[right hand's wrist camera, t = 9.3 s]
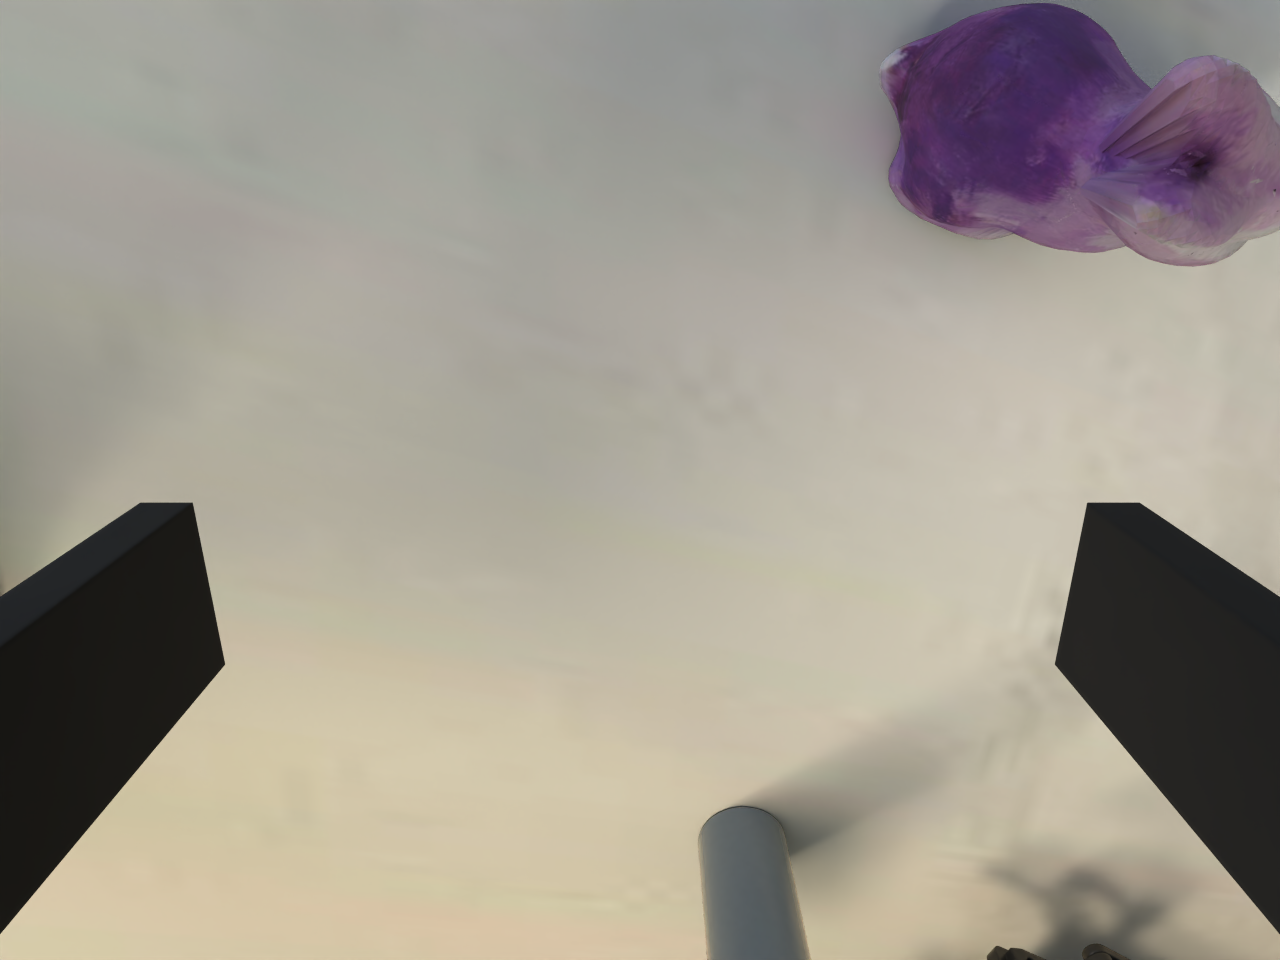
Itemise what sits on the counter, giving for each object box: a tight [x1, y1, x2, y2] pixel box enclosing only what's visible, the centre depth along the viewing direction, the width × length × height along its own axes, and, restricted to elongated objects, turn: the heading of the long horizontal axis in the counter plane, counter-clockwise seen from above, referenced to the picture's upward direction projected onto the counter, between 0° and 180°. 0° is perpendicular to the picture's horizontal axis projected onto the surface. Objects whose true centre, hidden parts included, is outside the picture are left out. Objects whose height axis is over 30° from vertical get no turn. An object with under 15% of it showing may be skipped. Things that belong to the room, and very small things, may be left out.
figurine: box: [879, 3, 1280, 266], centre depth 27 cm, size 9×10×15 cm
